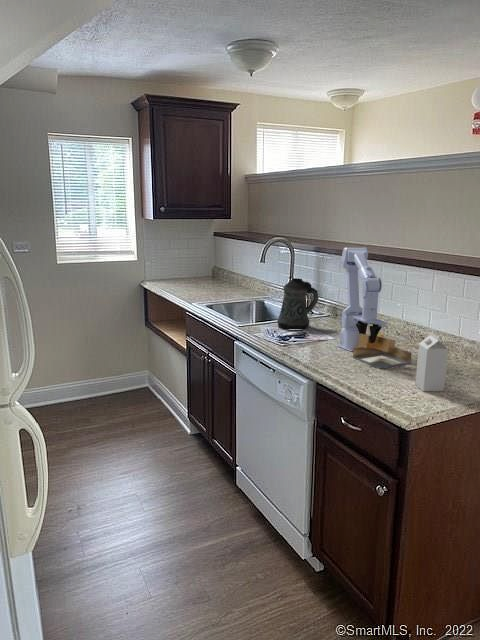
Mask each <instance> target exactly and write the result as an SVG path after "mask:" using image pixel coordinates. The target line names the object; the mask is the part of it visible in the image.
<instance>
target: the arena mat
mask: <svg viewBox="0 0 480 640" xmlns="http://www.w3.org/2000/svg"><path fill="white" fill-rule="evenodd" d="M352 358H353V359H354V360H357V361H360V362H361V363H365V364H366V365H369V366H372V367H373V368H377V369H379V370H383V369H388V368H394V367H398V366H405V365H410V364H411V363H412V361H411V362H406V361H403V360H401V359H398V358H395V357H392V356H390V355H387V354H384V353H378V354H372V355H366V356H360V357H353V356H352Z"/></svg>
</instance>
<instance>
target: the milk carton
mask: <svg viewBox="0 0 480 640" xmlns="http://www.w3.org/2000/svg"><path fill="white" fill-rule="evenodd" d="M448 355H449V348H448V347H446V345H445V344H443V343H442V342H441V341H440V336H438V335H436V334H434V333H433V332H432V331H430V332H429V335H428V336H427V337H426V338H424V339H423V340H422V341H420V342H419V343H418V355H417V363H416V375H415V376H416V377H415V385H416V386H417V387H418V388H419V389H420V390H421V391H422V392H444V391H445V384H446V375H447V365H448V363H447V362H448Z"/></svg>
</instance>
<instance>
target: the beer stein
mask: <svg viewBox="0 0 480 640" xmlns="http://www.w3.org/2000/svg"><path fill="white" fill-rule="evenodd" d="M282 289H283V298H282V304H281V309H280V312H279V315H278V318H277V327H278V329H281V328H283V329H282V330H284V329H305V330H307V329H309V327H310V326H309V325H310V319H309V316H308V313H309V312H311V311H312V310H313V309H314V308H315V306H316V305H317V303H318V300H319V293H318V292H319V291H318V290H317V289H316V288H315V287H313V286H312V284H311V283H310V282H309V281H304V280H303V279H302V278H296V277H294V278H291V280H290V281H289V282H287V283H286V284H285V285H284V286H283V287H282ZM306 294H312V295H313V299H312V301H311V302H310V304H309V305H308V306H307V297H306V296H307V295H306ZM306 328H307V329H306Z"/></svg>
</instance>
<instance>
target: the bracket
mask: <svg viewBox="0 0 480 640" xmlns="http://www.w3.org/2000/svg"><path fill="white" fill-rule="evenodd" d="M396 342H397V340H396V339H394V338H390V337H385V336H384V337H382V336H379V335H377V337H376V340H375V343H370V333H366V334H362V333H360V338H359V343H358V346H361V347H364V348H375V349H378V350H382V351H385V352H393V351H394V347H396V346H395V345H396Z"/></svg>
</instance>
